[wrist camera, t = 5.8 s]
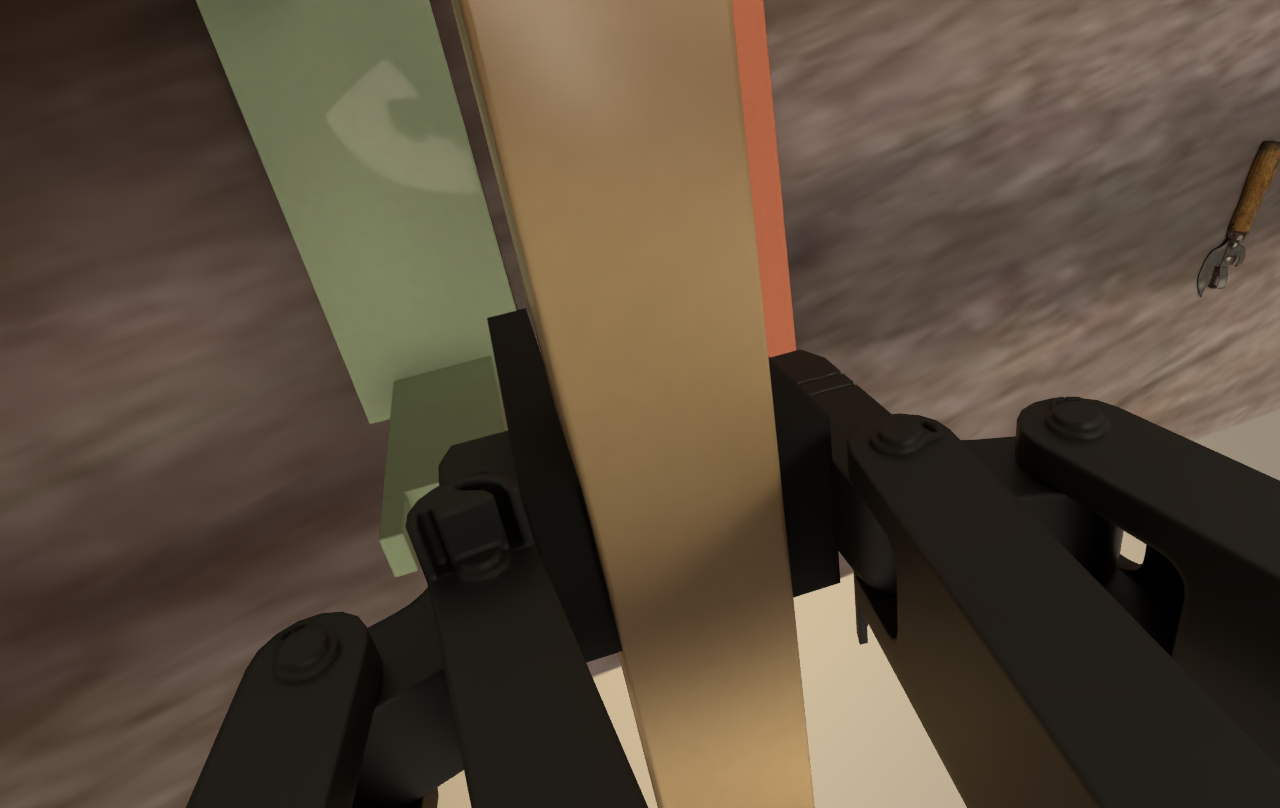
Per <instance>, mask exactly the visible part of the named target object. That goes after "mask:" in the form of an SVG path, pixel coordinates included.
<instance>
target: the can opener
mask: <svg viewBox="0 0 1280 808" xmlns="http://www.w3.org/2000/svg"><path fill="white" fill-rule="evenodd" d="M1279 164H1280V142H1275V141H1264V143H1263V145H1262V146H1261V148H1260V150H1259V152H1258V154H1257V156H1256V158H1255V161H1254V163H1253V166H1252V168H1251V171H1250V173H1249V176H1248V178H1247V181H1246V184H1245V187H1244V190H1243V194H1242V197H1241V200H1240V203H1239V205H1238V207H1237V210H1236V212H1235V214H1234V216H1233V219H1232V221H1231V223H1230V226H1229V228H1228V234H1227V238H1229V239H1228V241H1227V242H1226V243H1225V244H1224V245H1223V246H1221V247H1219V248H1217V249H1215V250H1213V251H1212V252H1211V253H1210V254H1209V255H1208V257H1207V258H1206V260H1205V262H1204V264H1203V266H1202V268H1201V271H1200V273H1199V276H1198V289H1199V294H1200V297H1202V294H1203V292H1204V289H1205V287H1206V284H1207V282H1208V280H1209V277H1210V275H1211V272H1212V270H1213V267H1214V266H1215V267H1217V268H1216V269H1215V270H1214V272H1213V273H1215V274H1216V275H1218V276H1219V280H1218V284H1217V286H1216V285H1208V287H1210V288H1214V289H1223V288H1225V286H1226V283H1227V278H1228V267H1229V264H1230V262H1231V260H1232V257H1234V256H1238V257H1239V260H1238V262H1237V264H1236V265H1235V267H1236V266H1238V265H1240V264H1241V263H1242V262H1243V260H1244V258H1245V248H1244V247H1243V246H1242V245H1240V244H1239V241H1240V240H1244V238H1245V236H1246V235H1247V233H1249V231H1250V228H1251V226H1252V223H1253V221H1254V218H1255V216H1256V213H1257V210H1258V207H1259V205H1260V203H1261V201H1262V199H1263V197H1264V195H1265V194H1266V192H1267V190H1268V188H1269V186H1270V184H1271V182H1272V180H1273V178H1274V175H1275V173H1276V171H1277V168H1278V166H1279Z"/></svg>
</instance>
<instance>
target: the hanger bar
mask: <svg viewBox="0 0 1280 808" xmlns="http://www.w3.org/2000/svg"><path fill="white" fill-rule="evenodd" d="M451 3H452V7H453V11H454V15H455V19H456V23H457V27H458V31H459V35H460V39H461V42H462V46H463V50H464V54H465V58H466V62H467V66H468V70H469V74H470V77H471V81H472V85H473V89H474V93H475V97H476V101H477V105H478V109H479V113H480V116H481V120H482V124H483V128H484V132H485V136H486V140H487V144H488V148H489V151H490V155H491V159H492V163H493V167H494V171H495V175H496V179H497V183H498V187H499V190H500V194H501V198H502V202H503V206H504V210H505V214H506V218H507V222H508V226H509V229H510V233H511V237H512V241H513V245H514V249H515V253H516V257H517V261H518V264H519V268H520V272H521V276H522V280H523V284H524V288H525V292H526V296H527V300H528V303H529V307H530V311H531V315H532V319H533V323H534V327H535V331H536V335H537V338H538V342H539V346H540V350H541V354H542V358H543V362H544V366H545V370H546V374H547V377H548V381H549V385H550V389H551V393H552V397H553V401H554V405H555V409H556V412H557V415H558V418H559V421H560V424H561V427H562V430H563V433H564V436H565V440H566V443H567V446H568V449H569V452H570V455H571V458H572V461H573V464H574V467H575V470H576V473H577V476H578V479H579V483H580V486H581V489H582V493H583V497H584V501H585V505H586V509H587V513H588V517H589V521H590V525H591V529H592V533H593V537H594V541H595V545H596V549H597V553H598V557H599V561H600V564H601V568H602V572H603V576H604V580H605V584H606V588H607V592H608V596H609V600H610V604H611V608H612V612H613V616H614V620H615V624H616V628H617V632H618V636H619V640H620V644H621V648H622V651H621V652H618V654H619V658H620V662H621V666H622V670H623V674H624V677H625V681H626V685H627V689H628V693H629V697H630V701H631V705H632V708H633V712H634V716H635V720H636V724H637V728H638V732H639V736H640V739H641V743H642V747H643V751H644V755H645V759H646V763H647V767H648V771H649V775H650V779H651V782H652V787H653V790H654V794H655V798H656V802H657V806H658V808H815V807H814V797H813V787H812V778H811V767H810V758H809V749H808V738H807V729H806V719H805V709H804V699H803V689H802V680H801V671H800V660H799V651H798V641H797V631H796V621H795V611H794V602H793V592H792V582H791V572H790V563H789V553H788V543H787V534H786V524H785V514H784V504H783V495H782V485H781V475H780V465H779V456H778V446H777V436H776V426H775V417H774V407H773V397H772V387H771V378H770V368H769V358H768V348H767V339H766V329H765V319H764V309H763V300H762V290H761V280H760V270H759V261H758V251H757V241H756V231H755V222H754V212H753V202H752V192H751V183H750V173H749V163H748V153H747V144H746V134H745V124H744V115H743V105H742V95H741V85H740V76H739V66H738V56H737V46H736V37H735V27H734V17H733V7H732V0H451Z"/></svg>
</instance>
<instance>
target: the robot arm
mask: <svg viewBox="0 0 1280 808" xmlns="http://www.w3.org/2000/svg"><path fill="white" fill-rule="evenodd" d="M487 321H488V327H489V332H490V337H491V342H492V348H493V353H494V358H495V363H496V369H497V374H498V379H499V384H500V390H501V395H502V400H503V405H504V411H505V416H506V421H507V426H508V430H507V431H504V432H500V433H496V434H492V435H489V436H485V437H481V438H478V439H474V440H470V441H466V442H463V443H459V444H455V445H452V446H450V448H449V450H448V451H447V453H446V454H445V456H444V457H443V459H442V460H441V462H440V464H439V465H438V472H439V486H438V487H436V488H434V489H432V490H431V491H430V492H428V493H427V494H426V495H424V496H423V497H422V498H420V499H419V500H418V501H417V502H416V503H415V505H414V506H413V507H412V509H411V510H410V511H409V512H408V514H407V520H406V525H405V527H406V530H407V533H408V535H409V538H410V540H411V543H412V545H413V548H414V550H415V553H416V555H417V558H418V560H419V563H420V565H421V568H422V570H423V573H424V575H425V578H426V581H427V584H428V588H427V589H426V590H425V591H424V592H423V593H422V594H421V595H420V596H419V597H418V598H417V599H415V600H414V601H413V602H412V603H411V604H409V605H408V606H406V607H405V608H403V609H401V610H400V611H398V612H396V613H395V614H393V615H391V616H389V617H387V618H386V619H384V620H382V621H380V622H378V623H376V624H374V625H372V626H370V627H369V628H367V627H366V626H365V624H364V623H363V622H362V621H361V620H360V618H359V617H358V616H355V615H351V614H348V613H344V612H333V613H321V614H318V615H315V616H313V617H310V618H307V619H304V620H301V621H298V622H296V623H295V624H293V625H291V626H290V627H288V628H286V629H284V630H283V631H281V632H279V633H278V634H276V635H275V636H274V637H273V638H272V639H271V640H269V641H268V642H267V643H266V644H265V645H264V646H263V647H262V648H261V649H260V650H258V652H257V653H256V655H255V656H254V658H253V659H252V661H251V662H250V664H249V665H248V667H247V668H246V670H245V673H244V675H243V677H242V679H241V682H240V684H239V686H238V689H237V691H236V693H235V696H234V698H233V700H232V703H231V705H230V707H229V709H228V712H227V714H226V716H225V719H224V721H223V723H222V726H221V728H220V730H219V733H218V735H217V737H216V739H215V742H214V744H213V746H212V749H211V751H210V753H209V756H208V758H207V760H206V763H205V765H204V767H203V769H202V772H201V774H200V776H199V779H198V781H197V783H196V786H195V788H194V790H193V793H192V795H191V797H190V799H189V802H188V804H187V806H186V808H437V803H438V786H440V785H441V784H443V783H444V782H446V781H447V780H449V779H450V778H452V777H454V776H455V775H456V774H458V773H459V772H461V771H463V770H464V771H465V776H466V782H467V787H468V792H469V797H470V801H471V807H472V808H648V806H647V804H646V801H645V799H644V797H643V794H642V792H641V790H640V787H639V785H638V783H637V780H636V778H635V776H634V774H633V771H632V769H631V766H630V764H629V762H628V760H627V757H626V755H625V752H624V750H623V748H622V746H621V743H620V741H619V738H618V736H617V734H616V731H615V729H614V727H613V724H612V722H611V720H610V717H609V715H608V713H607V710H606V708H605V706H604V704H603V701H602V699H601V697H600V694H599V692H598V690H597V687H596V685H595V683H594V680H593V678H592V676H591V673H590V671H589V669H588V666H587V664H586V662H589V661H592V660H596V659H599V658H602V657H605V656H608V655H611V654H615V653H618V652H621V651H622V648H621V644H620V640H619V636H618V632H617V628H616V624H615V620H614V616H613V612H612V608H611V604H610V600H609V596H608V592H607V588H606V584H605V580H604V576H603V572H602V568H601V564H600V561H599V557H598V553H597V549H596V545H595V541H594V537H593V533H592V529H591V525H590V521H589V517H588V513H587V509H586V505H585V501H584V497H583V493H582V489H581V486H580V483H579V479H578V476H577V473H576V470H575V467H574V464H573V461H572V458H571V455H570V452H569V449H568V446H567V443H566V440H565V436H564V433H563V430H562V427H561V424H560V421H559V418H558V415H557V412H556V409H555V405H554V401H553V397H552V393H551V389H550V385H549V381H548V377H547V374H546V370H545V366H544V362H543V359H542V356H541V353H540V350H539V347H538V344H537V341H536V338H535V335H534V332H533V329H532V326H531V323H530V320H529V317H528V314H527V311H526V309H521V310H517V311H513V312H509V313H505V314H501V315H497V316H493V317H489V318H487ZM768 358H769V368H770V378H771V387H772V397H773V407H774V417H775V426H776V436H777V446H778V456H779V465H780V475H781V485H782V495H783V504H784V514H785V524H786V534H787V543H788V553H789V563H790V572H791V582H792V592H793V597H796V596H799V595H802V594H805V593H809V592H812V591H815V590H818V589H821V588H825V587H828V586H831V585H834V584H837V583H840V571H839V555H838V551H839V552H840V553H841V554H842V556H843V557H844V558H845V560H846V561H847V562H848V564H849V565H850V566H851V567H852V569H853V570H854V584H855V605H856V624H857V634H858V638H859V643H860V644H864V643H867V642H868V639H867V626H868V624H869V625H870V627H871V629H872V631H873V633H874V635H875V637H876V639H877V640H878V642H879V644H880V646H881V648H882V650H883V651H884V653H885V655H886V657H887V659H888V661H889V663H890V665H891V666H892V668H893V670H894V672H895V674H896V675H897V678H898V680H899V681H900V683H901V685H902V687H903V689H904V691H905V693H906V694H907V696H908V698H909V700H910V702H911V704H912V706H913V708H914V709H915V711H916V713H917V715H918V717H919V719H920V720H921V722H922V724H923V726H924V728H925V730H926V732H927V734H928V736H929V737H930V739H931V741H932V743H933V745H934V747H935V749H936V750H937V752H938V754H939V756H940V758H941V760H942V761H943V763H944V765H945V767H946V769H947V771H948V773H949V775H950V777H951V778H952V780H953V782H954V784H955V785H956V788H957V790H958V792H959V793H960V795H961V797H962V799H963V801H964V802H965V804H966V806H967V808H1280V481H1279V480H1277V479H1275V478H1272V477H1270V476H1268V475H1266V474H1264V473H1261V472H1259V471H1257V470H1254V469H1253V468H1250V467H1248V466H1246V465H1244V464H1242V463H1239V462H1237V461H1235V460H1232V459H1231V458H1229V457H1226V456H1224V455H1222V454H1220V453H1218V452H1215V451H1213V450H1211V449H1209V448H1206V447H1204V446H1202V445H1200V444H1198V443H1196V442H1193V441H1191V440H1189V439H1187V438H1185V437H1182V436H1180V435H1178V434H1176V433H1174V432H1171V431H1169V430H1167V429H1165V428H1163V427H1160V426H1158V425H1156V424H1154V423H1152V422H1149V421H1147V420H1145V419H1143V418H1141V417H1139V416H1136V415H1134V414H1132V413H1130V412H1128V411H1125V410H1123V409H1121V408H1119V407H1116V406H1113V405H1110V404H1107V403H1104V402H1101V401H1098V400H1091V399H1083V398H1080V397H1066V398H1064V397H1058V398H1052V399H1047V400H1043V401H1039V402H1035V403H1033V404H1031V405H1030V406H1028V407H1026V408H1025V409H1023V410H1022V411H1021V413H1020V415H1019V417H1018V419H1017V427H1016V436H1015V437H1003V438H992V439H980V440H960V439H959V438H958V437H957V436H956V435H955V434H954V433H953V432H952V431H951V430H950V429H949V428H947V427H946V426H944V425H943V424H941V423H940V422H938V421H936V420H933V419H930V418H926V417H923V416H920V415H909V414H891V413H889V412H888V411H887V410H886V409H885V408H884V407H882V406H881V405H880V404H879V403H878V402H876V401H875V400H874V399H873V398H872V397H871V396H869V395H868V394H867V393H866V392H865V391H863V390H862V389H861V388H860V387H859V386H858V385H854V384H853V381H852V380H850V379H849V378H848V377H847V376H846V375H845V374H841V372H840V370H839V369H837V368H836V367H835V366H834V365H833V364H832V363H830V362H829V361H828V360H827V359H826V358H824V357H821V356H818V355H815V354H812V353H809V352H806V351H803V350H796V351H792V352H788V353H785V354H781V355H777V356H774V357H769V356H768ZM1123 531H1126V532H1127V533H1129V534H1131V535H1132V536H1134V537H1135V538H1137V539H1139V540H1140V541H1142V542H1144V543H1145V544H1147V546H1146V552H1145V557H1144V561H1143V564H1137V563H1135V562H1133V561H1131V560H1129V559H1127V558H1125V557H1124V556H1122V555H1121V554H1120V550H1121V543H1122V537H1123Z"/></svg>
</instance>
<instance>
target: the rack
mask: <svg viewBox="0 0 1280 808" xmlns="http://www.w3.org/2000/svg"><path fill="white" fill-rule="evenodd" d="M196 2H197V5H198V7H199V10H200V12H201V15H202V17H203V19H204V22H205V24H206V27H207V29H208V32H209V34H210V37H211V39H212V41H213V44H214V46H215V49H216V51H217V54H218V56H219V58H220V61H221V63H222V66H223V68H224V71H225V73H226V75H227V78H228V80H229V83H230V85H231V88H232V90H233V92H234V95H235V97H236V100H237V102H238V105H239V107H240V110H241V112H242V114H243V117H244V119H245V122H246V124H247V127H248V129H249V131H250V134H251V136H252V139H253V141H254V144H255V146H256V148H257V151H258V153H259V156H260V158H261V161H262V163H263V166H264V168H265V170H266V173H267V175H268V178H269V180H270V183H271V185H272V187H273V190H274V192H275V195H276V197H277V200H278V202H279V204H280V207H281V209H282V212H283V214H284V217H285V219H286V221H287V224H288V226H289V229H290V231H291V234H292V236H293V239H294V241H295V243H296V246H297V248H298V251H299V253H300V256H301V258H302V260H303V263H304V265H305V268H306V270H307V273H308V275H309V277H310V280H311V282H312V285H313V287H314V290H315V292H316V295H317V297H318V299H319V302H320V304H321V307H322V309H323V312H324V314H325V316H326V319H327V321H328V324H329V326H330V329H331V331H332V333H333V336H334V338H335V341H336V343H337V346H338V348H339V350H340V353H341V355H342V358H343V360H344V363H345V365H346V368H347V370H348V372H349V375H350V377H351V380H352V382H353V385H354V387H355V389H356V392H357V394H358V397H359V399H360V402H361V404H362V406H363V409H364V411H365V414H366V416H367V419H368V421H369V423H370V424H373V423H377V422H381V421H384V420H388V419H390V425H389V436H388V447H387V458H386V468H385V479H384V490H383V503H382V514H381V525H380V536H379V542H380V545H381V547H382V549H383V551H384V554H385V556H386V558H387V561H388V563H389V565H390V567H391V570H392V572H393V574H394V576H395V577H399V576H402V575H405V574H408V573H412V572H415V571H417V570H418V558H417V555H416V553H415V550H414V548H413V545H412V543H411V540H410V538H409V535H408V533H407V530H406V527H405V525H406V520H407V514H408V512H409V511H410V510H411V509H412V507H413V506H414V505H415V503H416V502H417V501H418V500H419V499H420V498H422V497H423V496H424V495H426V494H427V493H428V492H430V491H431V490H432V489H434V488H436V487H438V486H439V472H438V465H439V464H440V462H441V460H442V459H443V457H444V456H445V454H446V453H447V451H448V450H449V448H450V446H452V445H455V444H459V443H463V442H466V441H470V440H474V439H478V438H481V437H485V436H489V435H492V434H496V433H500V432H504V431H507V430H508V426H507V421H506V416H505V411H504V405H503V400H502V395H501V390H500V384H499V379H498V374H497V369H496V363H495V358H494V353H493V348H492V342H491V337H490V332H489V327H488V321H487V318H489V317H493V316H497V315H501V314H505V313H509V312H513V311H516V307H515V304H514V300H513V297H512V293H511V289H510V286H509V282H508V279H507V275H506V272H505V268H504V265H503V261H502V257H501V254H500V250H499V247H498V243H497V240H496V236H495V232H494V229H493V225H492V222H491V218H490V215H489V211H488V208H487V204H486V200H485V197H484V193H483V190H482V186H481V183H480V179H479V175H478V172H477V168H476V165H475V161H474V158H473V154H472V150H471V147H470V143H469V140H468V136H467V133H466V129H465V126H464V122H463V118H462V115H461V111H460V108H459V104H458V101H457V97H456V93H455V90H454V86H453V83H452V79H451V76H450V72H449V69H448V65H447V61H446V58H445V54H444V51H443V47H442V44H441V40H440V36H439V33H438V29H437V26H436V22H435V19H434V15H433V12H432V8H431V4H430V1H429V0H196Z"/></svg>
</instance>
